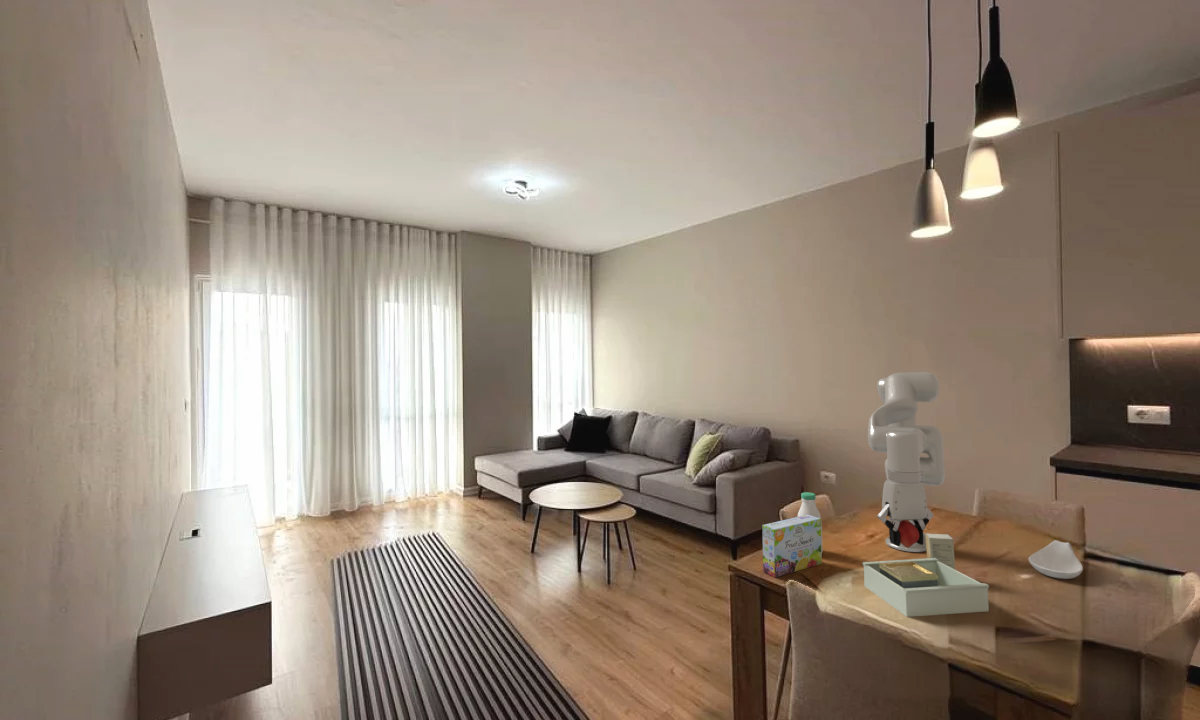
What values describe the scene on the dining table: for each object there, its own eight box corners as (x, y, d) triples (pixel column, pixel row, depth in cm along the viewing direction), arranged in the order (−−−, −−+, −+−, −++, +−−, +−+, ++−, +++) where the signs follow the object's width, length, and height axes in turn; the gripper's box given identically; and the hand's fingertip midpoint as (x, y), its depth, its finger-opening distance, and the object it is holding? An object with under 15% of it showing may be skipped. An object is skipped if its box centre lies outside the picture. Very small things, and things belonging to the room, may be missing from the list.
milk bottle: (818, 547, 169) (815, 490, 169) (826, 556, 161) (823, 496, 162) (795, 547, 170) (793, 490, 170) (802, 555, 162) (800, 496, 162)
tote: (936, 583, 139) (934, 557, 139) (990, 614, 121) (988, 585, 122) (863, 588, 138) (862, 562, 138) (907, 620, 120) (906, 590, 120)
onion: (889, 544, 132) (888, 514, 132) (909, 542, 133) (907, 513, 133) (904, 551, 126) (903, 521, 126) (925, 550, 127) (923, 520, 127)
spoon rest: (1081, 588, 134) (1079, 562, 135) (1025, 575, 143) (1024, 551, 144) (1090, 564, 150) (1088, 541, 150) (1039, 554, 159) (1038, 532, 159)
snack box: (776, 579, 145) (774, 529, 146) (762, 572, 150) (760, 524, 151) (823, 564, 155) (821, 517, 155) (808, 558, 160) (807, 513, 160)
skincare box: (951, 574, 145) (949, 534, 145) (956, 581, 140) (954, 539, 141) (926, 572, 147) (924, 532, 147) (931, 578, 143) (929, 537, 143)
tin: (914, 590, 134) (913, 560, 134) (939, 605, 125) (938, 574, 125) (880, 592, 133) (879, 562, 133) (903, 608, 124) (901, 576, 124)
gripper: (923, 472, 134) (926, 537, 134) (864, 475, 133) (867, 540, 133) (944, 478, 127) (947, 547, 126) (882, 481, 125) (885, 550, 125)
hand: (906, 543), depth 129 cm, fingers closed on onion, 5 cm apart
